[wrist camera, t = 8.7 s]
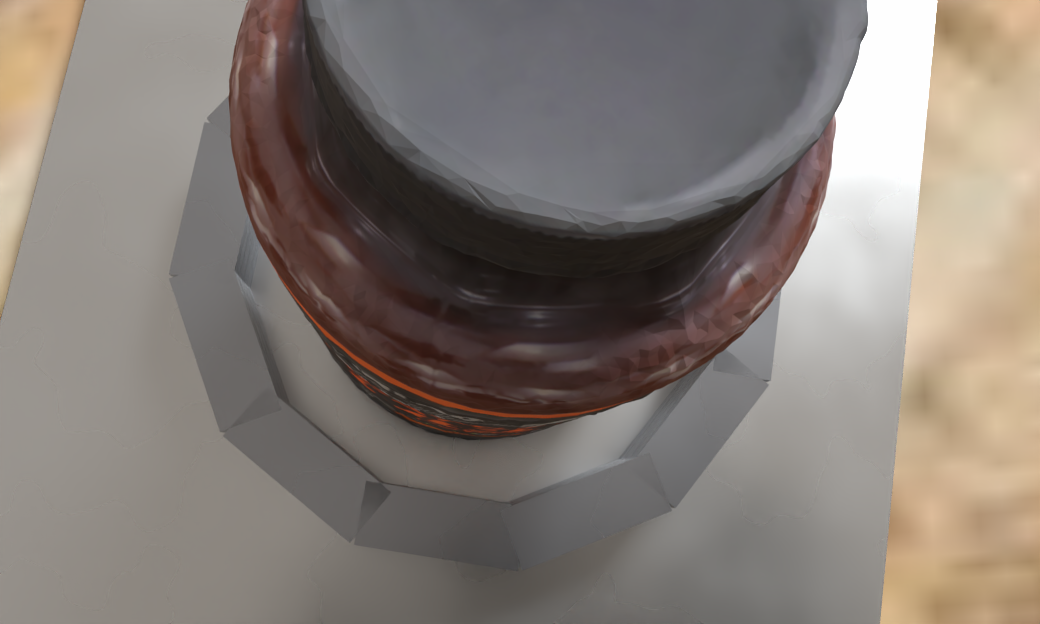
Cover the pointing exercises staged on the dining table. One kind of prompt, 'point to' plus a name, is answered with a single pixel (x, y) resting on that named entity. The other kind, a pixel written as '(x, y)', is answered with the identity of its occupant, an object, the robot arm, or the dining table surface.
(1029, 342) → the dining table surface
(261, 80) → the supplement bottle
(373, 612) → the duct plate
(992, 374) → the dining table surface
